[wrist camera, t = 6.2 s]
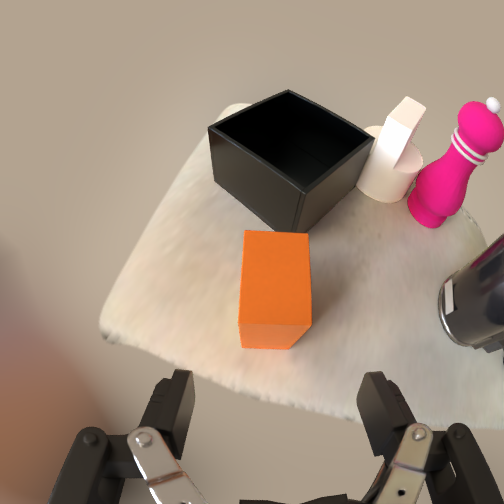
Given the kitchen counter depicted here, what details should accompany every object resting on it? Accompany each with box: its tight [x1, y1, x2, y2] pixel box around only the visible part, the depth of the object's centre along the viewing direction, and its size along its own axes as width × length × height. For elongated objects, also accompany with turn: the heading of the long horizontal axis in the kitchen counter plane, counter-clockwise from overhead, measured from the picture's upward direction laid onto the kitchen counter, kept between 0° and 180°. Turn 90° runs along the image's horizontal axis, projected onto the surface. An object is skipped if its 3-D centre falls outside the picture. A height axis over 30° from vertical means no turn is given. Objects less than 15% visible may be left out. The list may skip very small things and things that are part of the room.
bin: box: [208, 89, 375, 233], centre depth 30 cm, size 13×13×9 cm
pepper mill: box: [408, 97, 504, 228], centre depth 24 cm, size 7×7×20 cm
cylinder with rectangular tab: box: [356, 96, 426, 203], centre depth 30 cm, size 9×9×12 cm
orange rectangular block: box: [238, 230, 312, 349], centre depth 22 cm, size 4×6×10 cm
